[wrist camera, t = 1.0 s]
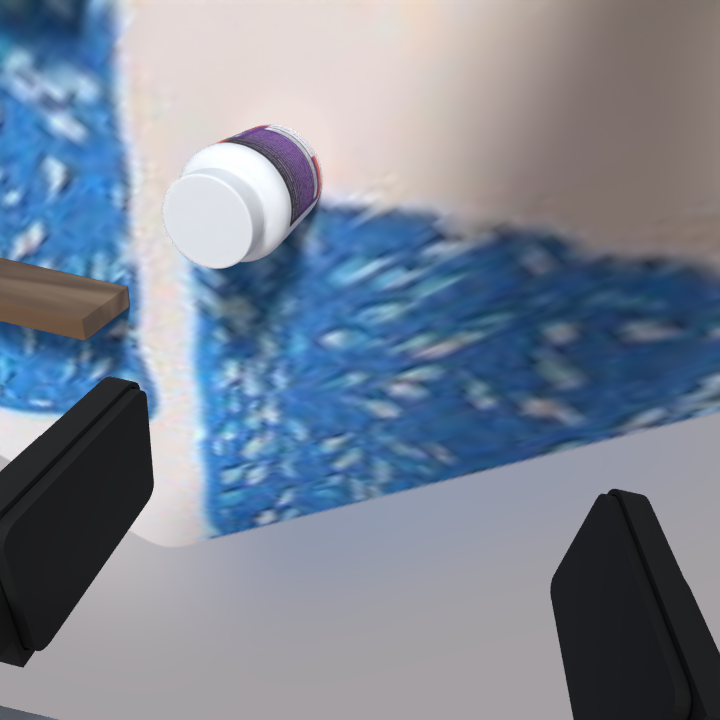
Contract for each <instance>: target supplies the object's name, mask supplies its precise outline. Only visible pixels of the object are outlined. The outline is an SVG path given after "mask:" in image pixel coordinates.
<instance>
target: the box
mask: <svg viewBox="0 0 720 720" xmlns="http://www.w3.org/2000/svg"><path fill="white" fill-rule="evenodd" d="M129 306H130V305H129V295H128V287H126V286H122V285H117V284H113V283H109V282H104V281H100V280H95V279H91V278H87V277H82V276H78V275H73V274H69V273H64V272H60V271H56V270H51V269H47V268H42V267H38V266H34V265H29V264H25V263H20V262H16V261H12V260H7V259H3V258H0V321H3V322H7V323H11V324H16V325H20V326H24V327H28V328H33V329H37V330H41V331H45V332H50V333H54V334H58V335H63V336H67V337H71V338H75V339H80V340H84V341H86V340H87V339H88V338H90V337H91V336H92V335H93V334H95V333H96V332H97V331H99V330H100V329H101V328H102V327H104V326H105V325H106V324H108V323H109V322H110V321H111V320H113V319H114V318H115V317H116V316H118V315H119V314H120V313H122V312H123V311H124V310H125V309H127V308H128V307H129Z"/></svg>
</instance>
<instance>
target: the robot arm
mask: <svg viewBox="0 0 720 720" xmlns="http://www.w3.org/2000/svg"><path fill="white" fill-rule="evenodd" d="M153 487H154V479H153V467H152V455H151V443H150V431H149V418H148V406H147V396H146V393H145V392H144V391H141V390H140V387H139V385H138V383H136V382H133V381H128V380H124V379H119V378H115V377H106V378H104V379H103V380H102V381H101V382H100V383H98V384H97V385H96V386H95V387H94V388H93V389H92V390H91V391H90V392H88V393H87V394H86V395H85V396H84V397H83V398H82V399H81V400H80V401H79V402H77V403H76V404H75V405H74V406H73V407H72V408H71V409H70V410H69V411H67V412H66V413H65V414H64V415H63V416H62V417H61V418H60V419H59V420H58V421H56V422H55V423H54V424H53V425H52V426H51V427H50V428H49V429H48V430H46V431H45V432H44V433H43V434H42V435H41V436H39V437H38V438H37V439H36V440H35V441H34V442H33V443H31V444H30V445H29V446H28V447H27V448H26V449H25V450H24V451H23V452H21V453H20V454H19V455H18V456H17V457H16V458H15V459H14V460H13V461H12V462H10V463H9V464H8V465H7V466H6V467H5V468H4V469H3V470H2V471H1V472H0V662H3V663H7V664H11V665H15V666H19V667H24V666H25V664H26V663H27V662H28V660H29V659H30V657H31V656H32V654H33V653H34V652H35V650H36V651H41V650H43V649H44V648H45V647H47V646H48V644H49V643H50V642H51V641H52V639H53V638H54V636H55V635H56V633H57V632H58V630H59V629H60V628H61V626H62V625H63V623H64V622H65V620H66V619H67V617H68V616H69V615H70V613H71V612H72V610H73V609H74V607H75V606H76V604H77V603H78V602H79V600H80V599H81V597H82V596H83V594H84V593H85V592H86V590H87V589H88V587H89V586H90V584H91V583H92V581H93V580H94V579H95V577H96V576H97V574H98V573H99V571H100V570H101V569H102V567H103V566H104V564H105V563H106V561H107V560H108V558H109V557H110V555H111V554H112V553H113V551H114V550H115V548H116V547H117V545H118V544H119V543H120V541H121V540H122V538H123V537H124V535H125V534H126V533H127V531H128V530H129V528H130V527H131V525H132V524H133V522H134V521H135V520H136V518H137V517H138V515H139V514H140V512H141V511H142V509H143V508H144V507H145V505H146V504H147V502H148V501H149V499H150V497H151V495H152V492H153ZM550 593H551V600H552V605H553V610H554V616H555V621H556V626H557V632H558V638H559V643H560V648H561V653H562V659H563V665H564V669H565V675H566V681H567V686H568V691H569V697H570V702H571V708H572V712H573V718H574V720H720V653H719V651H718V649H717V647H716V644H715V642H714V640H713V638H712V636H711V633H710V631H709V629H708V627H707V625H706V622H705V620H704V618H703V616H702V614H701V611H700V609H699V607H698V605H697V603H696V600H695V598H694V596H693V594H692V592H691V589H690V587H689V585H688V584H687V582H686V581H685V579H684V577H683V575H682V573H681V571H680V568H679V566H678V564H677V562H676V560H675V557H674V555H673V553H672V551H671V549H670V546H669V544H668V542H667V539H666V537H665V535H664V533H663V531H662V528H661V526H660V524H659V522H658V519H657V517H656V515H655V513H654V511H653V508H652V506H651V504H650V502H649V500H648V499H647V497H646V496H644V495H641V494H636V493H632V492H627V491H623V490H618V489H612V490H610V491H609V492H608V494H600V495H599V496H598V498H597V499H596V501H595V503H594V505H593V506H592V508H591V510H590V512H589V514H588V515H587V517H586V519H585V521H584V523H583V524H582V526H581V528H580V530H579V531H578V533H577V535H576V537H575V539H574V540H573V542H572V544H571V546H570V547H569V549H568V551H567V553H566V555H565V556H564V558H563V560H562V562H561V563H560V565H559V567H558V569H557V570H556V572H555V574H554V576H553V578H552V582H551V591H550ZM0 720H58V719H53V718H49V717H45V716H41V715H37V714H32V713H28V712H24V711H20V710H15V709H11V708H7V707H3V706H0Z"/></svg>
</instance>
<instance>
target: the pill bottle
mask: <svg viewBox="0 0 720 720" xmlns="http://www.w3.org/2000/svg"><path fill="white" fill-rule="evenodd" d="M321 187H322V170H321V165H320V162H319V159H318V157H317V154H316V153H315V151H314V149H313V148H312V146H311V145H310V144H309V143H308V141H307V140H306V139H305V138H304V137H302V136H301V135H300V134H299V133H297V132H296V131H294V130H292V129H290V128H288V127H285V126H281V125H275V124H269V125H262V126H258V127H254V128H252V129H249V130H247V131H244V132H242V133H240V134H237V135H235V136H232V137H230V138H227V139H225V140H222V141H220V142H218V143H215V144H213V145H210V146H208V147H205V148H203V149H202V150H200V151H199V152H197V153H196V154H194V155H193V156H192V157H191V158H190V159H189V160H188V162H187V163H186V165H185V166H184V168H183V170H182V172H181V175H180V178H179V179H178V180H177V181H175V182H174V183H173V184H172V185H171V186H170V188H169V189H168V191H167V193H166V194H165V197H164V201H163V205H162V217H163V223H164V227H165V230H166V232H167V234H168V236H169V238H170V240H171V242H172V243H173V244H174V246H175V247H176V248H177V249H178V251H179V252H180V253H182V254H183V255H184V256H185V257H186V258H188V259H189V260H191V261H192V262H194V263H196V264H198V265H200V266H204V267H207V268H213V269H221V268H227V267H230V266H233V265H235V264H237V263H238V262H250V261H254V260H258V259H261V258H263V257H265V256H267V255H268V254H270V253H271V252H273V251H274V250H275V249H276V248H277V247H278V246H279V245H280V244H281V243H282V242H283V241H284V240H285V239H286V238H287V237H288V235H289V234H290V233H291V232H292V231H293V230H294V229H295V228H296V227H297V225H298V224H299V223H300V222H301V221H302V220H303V219H304V218H305V217H306V216H307V215H308V213H309V212H310V211H311V210H312V208H313V207H314V206H315V204H316V202H317V200H318V198H319V195H320V192H321Z"/></svg>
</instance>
